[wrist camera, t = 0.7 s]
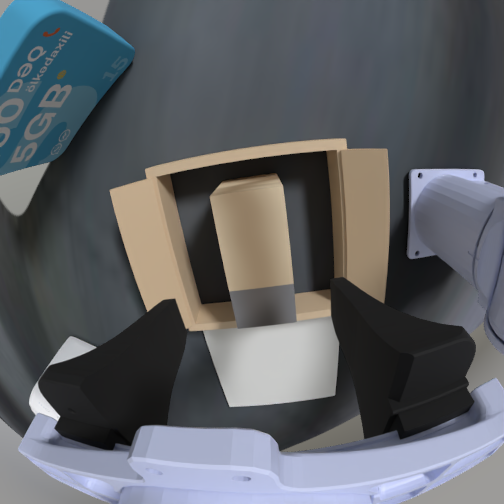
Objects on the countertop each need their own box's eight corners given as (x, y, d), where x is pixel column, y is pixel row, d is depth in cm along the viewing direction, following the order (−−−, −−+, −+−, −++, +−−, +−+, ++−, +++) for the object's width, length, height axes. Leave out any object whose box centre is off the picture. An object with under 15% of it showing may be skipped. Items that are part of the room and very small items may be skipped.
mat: (339, 310, 25) (340, 312, 24) (334, 393, 30) (334, 395, 29) (202, 326, 26) (202, 328, 25) (229, 404, 31) (229, 406, 30)
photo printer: (141, 363, 28) (105, 450, 17) (138, 383, 30) (108, 462, 19) (68, 329, 27) (17, 399, 16) (70, 351, 29) (27, 418, 17)
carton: (362, 137, 19) (389, 138, 14) (366, 289, 24) (384, 320, 19) (133, 171, 20) (103, 181, 16) (172, 312, 25) (158, 345, 21)
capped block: (275, 173, 20) (282, 185, 15) (288, 279, 24) (296, 322, 18) (223, 180, 20) (209, 196, 15) (242, 285, 24) (237, 328, 18)
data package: (60, 161, 20) (-42, 192, 8) (37, 133, 18) (-59, 152, 7) (142, 53, 16) (50, 2, 5) (113, 29, 15) (23, -17, 4)
